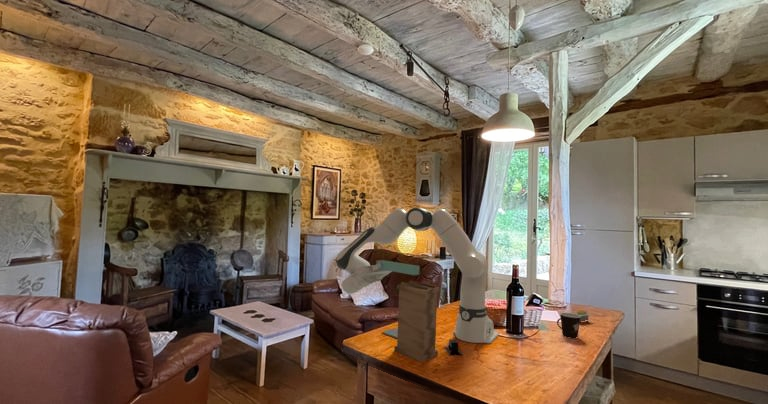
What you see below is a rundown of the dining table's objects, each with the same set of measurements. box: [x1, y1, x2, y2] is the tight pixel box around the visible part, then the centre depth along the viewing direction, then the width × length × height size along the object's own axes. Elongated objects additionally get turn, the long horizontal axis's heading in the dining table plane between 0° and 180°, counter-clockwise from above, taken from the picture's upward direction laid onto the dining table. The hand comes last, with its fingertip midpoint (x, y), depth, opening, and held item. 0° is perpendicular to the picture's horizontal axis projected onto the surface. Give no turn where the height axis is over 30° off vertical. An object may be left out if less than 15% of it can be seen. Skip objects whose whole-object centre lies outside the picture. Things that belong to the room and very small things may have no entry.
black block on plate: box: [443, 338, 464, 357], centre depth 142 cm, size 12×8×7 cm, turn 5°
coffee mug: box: [556, 312, 581, 339], centre depth 167 cm, size 12×9×10 cm
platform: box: [574, 309, 592, 322], centre depth 192 cm, size 12×18×7 cm, turn 117°
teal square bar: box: [375, 259, 421, 276], centre depth 151 cm, size 4×22×4 cm, turn 46°
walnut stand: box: [393, 280, 441, 363], centre depth 139 cm, size 10×14×28 cm
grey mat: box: [381, 327, 398, 340], centre depth 156 cm, size 9×22×1 cm, turn 46°
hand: (385, 264), depth 157 cm, fingers closed on teal square bar, 3 cm apart
